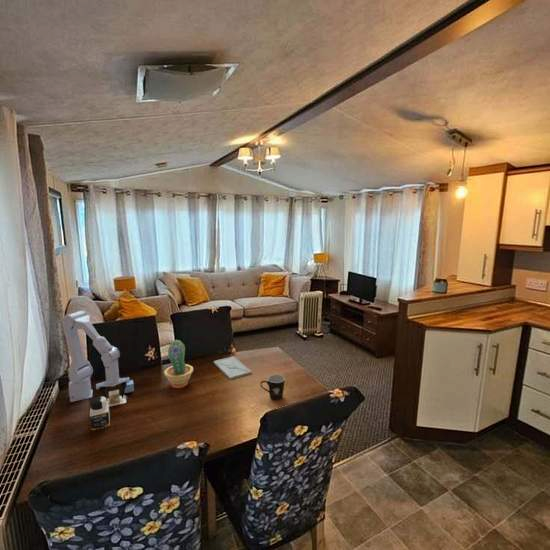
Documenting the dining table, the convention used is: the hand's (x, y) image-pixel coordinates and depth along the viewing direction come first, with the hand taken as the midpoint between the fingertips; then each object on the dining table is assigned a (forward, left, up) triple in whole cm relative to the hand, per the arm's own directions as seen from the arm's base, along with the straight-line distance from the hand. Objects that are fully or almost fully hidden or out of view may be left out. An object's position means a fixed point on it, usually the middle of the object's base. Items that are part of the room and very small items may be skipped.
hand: (114, 398), depth 159 cm
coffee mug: (+72, -32, -2) cm, 79 cm away
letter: (0, 0, -2) cm, 2 cm away
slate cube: (+7, +8, -2) cm, 11 cm away
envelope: (+64, +7, -2) cm, 64 cm away
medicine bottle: (-6, -17, -2) cm, 18 cm away
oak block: (0, 0, -1) cm, 1 cm away
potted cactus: (+32, +3, -2) cm, 32 cm away
